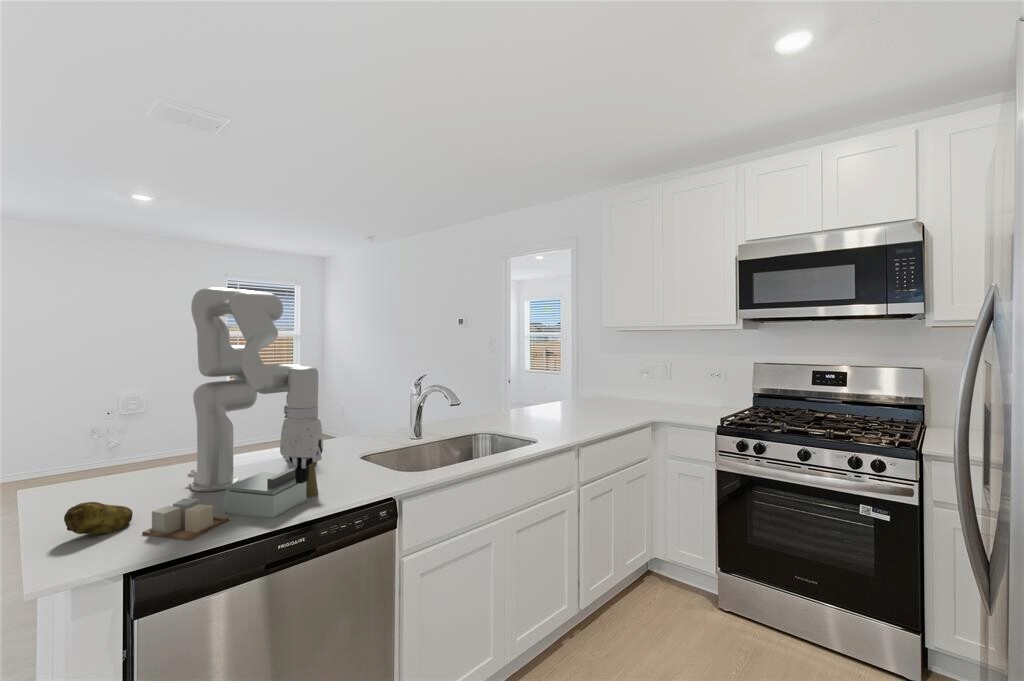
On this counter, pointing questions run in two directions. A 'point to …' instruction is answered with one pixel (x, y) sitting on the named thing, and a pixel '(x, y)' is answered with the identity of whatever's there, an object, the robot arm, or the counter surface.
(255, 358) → the robot arm
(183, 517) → the grey block
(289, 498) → the bin
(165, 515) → the grey block
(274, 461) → the counter surface
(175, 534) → the tray
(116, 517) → the potato
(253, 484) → the lid
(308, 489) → the cork
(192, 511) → the sandstone block
